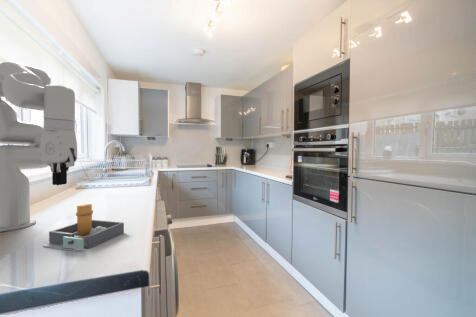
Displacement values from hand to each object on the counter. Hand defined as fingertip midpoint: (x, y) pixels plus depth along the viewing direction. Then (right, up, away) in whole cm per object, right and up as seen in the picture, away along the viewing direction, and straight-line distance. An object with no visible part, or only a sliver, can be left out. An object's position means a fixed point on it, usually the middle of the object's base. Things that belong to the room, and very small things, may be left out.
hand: (59, 184), depth 68 cm
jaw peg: (+6, -18, +3) cm, 19 cm away
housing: (+7, -18, +2) cm, 20 cm away
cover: (+9, -18, -7) cm, 21 cm away
